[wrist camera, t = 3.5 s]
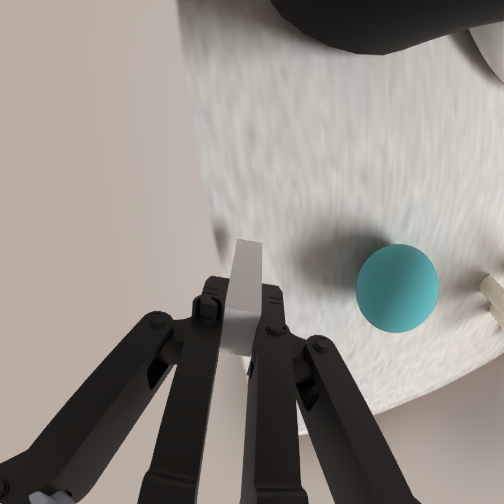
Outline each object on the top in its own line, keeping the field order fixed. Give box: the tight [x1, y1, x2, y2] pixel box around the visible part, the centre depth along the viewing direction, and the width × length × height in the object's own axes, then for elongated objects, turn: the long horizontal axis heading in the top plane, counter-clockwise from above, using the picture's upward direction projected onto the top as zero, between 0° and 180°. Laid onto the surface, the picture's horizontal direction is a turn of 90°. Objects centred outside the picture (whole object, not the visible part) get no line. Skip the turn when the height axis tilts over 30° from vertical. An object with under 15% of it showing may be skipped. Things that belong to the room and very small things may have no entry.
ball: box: [356, 244, 439, 333], centre depth 17 cm, size 6×6×6 cm
